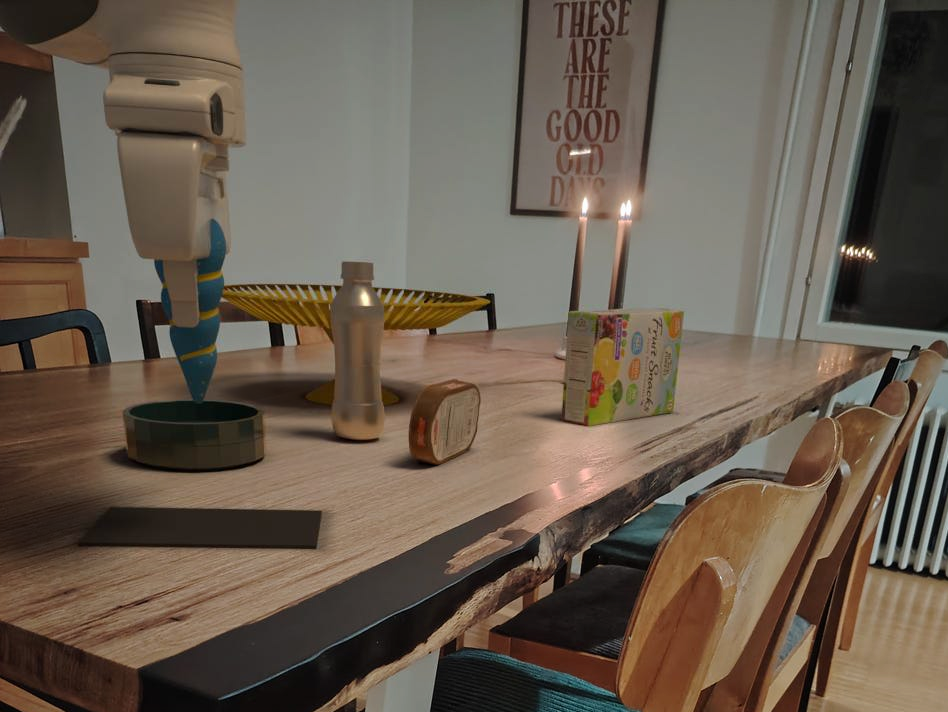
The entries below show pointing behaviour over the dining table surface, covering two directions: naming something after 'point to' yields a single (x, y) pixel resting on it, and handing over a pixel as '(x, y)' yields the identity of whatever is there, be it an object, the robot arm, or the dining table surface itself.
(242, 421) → the bowl
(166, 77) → the robot arm
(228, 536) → the mat
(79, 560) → the dining table surface
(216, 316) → the ornament
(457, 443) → the tin
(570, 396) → the snack box
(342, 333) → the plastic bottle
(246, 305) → the cake stand
